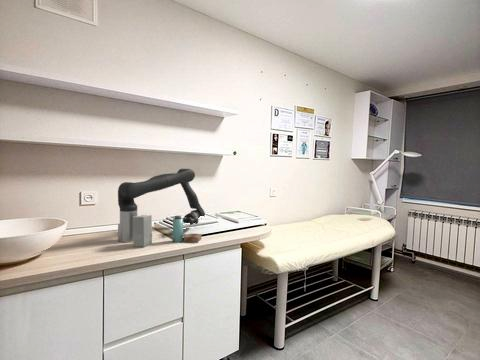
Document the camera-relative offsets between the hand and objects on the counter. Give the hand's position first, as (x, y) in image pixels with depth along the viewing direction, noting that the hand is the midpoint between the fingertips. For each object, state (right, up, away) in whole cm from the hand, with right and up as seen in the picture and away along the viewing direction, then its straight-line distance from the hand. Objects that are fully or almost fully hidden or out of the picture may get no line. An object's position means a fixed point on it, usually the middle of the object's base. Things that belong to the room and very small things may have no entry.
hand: (183, 223), depth 154 cm
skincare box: (-18, -9, -18) cm, 27 cm away
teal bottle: (-1, -9, -10) cm, 13 cm away
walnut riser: (+7, -9, -7) cm, 14 cm away
